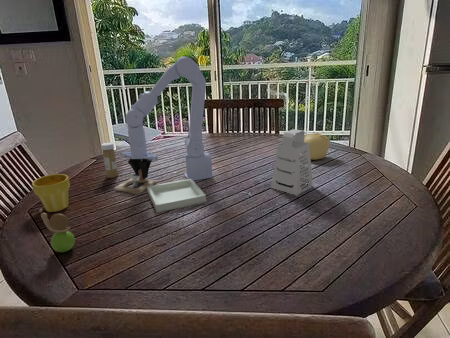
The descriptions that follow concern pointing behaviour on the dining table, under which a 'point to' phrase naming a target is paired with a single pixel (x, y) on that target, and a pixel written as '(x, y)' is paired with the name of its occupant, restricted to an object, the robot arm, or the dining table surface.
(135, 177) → the T-head stake
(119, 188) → the birch frame
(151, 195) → the sage tray
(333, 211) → the dining table surface
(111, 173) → the sprinkles bottle
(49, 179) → the plant pot
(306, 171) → the grater
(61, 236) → the snail figurine
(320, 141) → the yellow round pot
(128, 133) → the robot arm
